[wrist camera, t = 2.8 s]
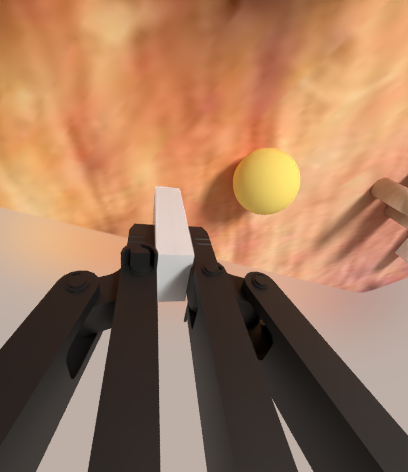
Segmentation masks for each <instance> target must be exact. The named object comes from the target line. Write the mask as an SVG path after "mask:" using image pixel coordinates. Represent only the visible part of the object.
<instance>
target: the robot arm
mask: <svg viewBox="0 0 408 472" xmlns="http://www.w3.org/2000/svg"><path fill="white" fill-rule="evenodd" d="M186 294H187V299H188V304H187V308H186V313H185V317H184V322H186V321H187V320H188V328H189V335H190V343H191V351H192V359H193V366H194V374H195V382H196V389H197V397H198V404H199V412H200V420H201V427H202V435H203V442H204V450H205V457H206V465H207V472H298V470H297V467H296V465H295V462H294V459H293V456H292V454H291V451H290V448H289V445H288V442H287V439H286V437H285V434H284V431H283V428H282V426H281V423H280V420H279V417H278V414H277V412H276V409H275V407H274V403H273V401H274V402H275V404H276V406H277V408H278V410H279V411H280V413H281V415H282V417H283V418H284V420H285V422H286V424H287V426H288V427H289V429H290V431H291V433H292V434H293V436H294V438H295V440H296V441H297V443H298V445H299V447H300V448H301V450H302V452H303V454H304V455H305V457H306V459H307V461H308V463H309V464H310V466H311V468H312V470H313V471H314V472H408V435H407V434H406V433H405V432H404V431H403V429H402V428H401V427H400V426H399V425H398V424H397V422H395V420H394V419H393V418H392V417H391V416H390V415H389V413H388V412H387V411H386V410H385V409H384V408H383V406H382V405H381V404H380V403H379V402H378V401H377V400H376V399H375V397H374V396H373V395H372V394H371V393H370V391H369V390H368V389H367V388H366V387H365V386H364V385H363V383H362V382H361V381H360V380H359V379H358V378H357V376H356V375H355V374H354V373H353V372H352V371H351V370H350V369H349V367H348V366H347V365H346V364H345V363H344V362H343V360H342V359H341V358H340V357H339V356H338V355H337V354H336V352H335V351H334V350H333V349H332V348H331V347H330V345H328V343H327V342H326V341H325V340H324V339H323V337H322V336H321V335H320V334H319V333H318V332H317V330H316V329H315V328H314V327H313V326H312V325H311V324H310V322H309V321H308V320H307V319H306V318H305V317H304V315H303V314H302V313H301V312H300V311H299V310H298V309H297V307H296V306H295V305H294V304H293V303H292V302H291V300H290V299H289V298H288V297H287V296H286V295H285V294H284V292H283V291H282V290H281V289H280V288H279V287H278V286H277V284H276V283H275V282H274V281H273V280H272V279H271V278H270V277H269V276H267V275H265V274H263V273H260V272H250V273H248V274H247V275H246V276H245V278H241V277H238V276H234V275H231V274H228V273H227V272H226V270H225V269H224V267H223V266H222V265H221V264H219V263H218V262H217V260H216V257H215V254H214V251H213V248H212V245H211V242H210V240H209V236H208V233H207V232H206V231H205V230H204V229H203V228H202V227H191V226H188V224H187V219H186V215H185V210H184V206H183V201H182V197H181V192H180V188H172V187H162V186H155V198H154V213H153V225H147V224H134V225H133V226H132V227H131V228H130V230H129V237H128V243H127V246H125V247H124V248H123V249H122V251H121V269H119V270H118V271H117V272H115V273H113V274H110V275H107V276H102V277H97V276H96V275H95V274H94V273H92V272H89V271H75V272H71V273H69V274H66V275H64V276H63V277H62V278H60V279H59V280H58V281H57V282H56V284H55V285H54V286H53V287H52V288H51V290H50V291H49V292H48V293H47V294H46V295H45V297H44V298H43V299H42V300H41V301H40V303H39V304H38V305H37V306H36V307H35V308H34V310H33V311H32V312H31V313H30V314H29V316H28V317H27V318H26V319H25V320H24V322H23V323H22V324H21V325H20V326H19V328H18V329H17V330H16V331H15V332H14V333H13V335H12V336H11V337H10V338H9V339H8V341H7V342H6V343H5V344H4V345H3V347H2V348H1V349H0V472H36V470H37V468H38V466H39V464H40V462H41V460H42V458H43V456H44V454H45V451H46V449H47V447H48V445H49V443H50V441H51V439H52V437H53V435H54V432H55V431H56V429H57V426H58V424H59V422H60V420H61V418H62V416H63V414H64V412H65V410H66V408H67V406H68V404H69V401H70V399H71V397H72V395H73V393H74V391H75V388H76V387H77V385H78V383H79V381H80V378H81V376H82V374H83V372H84V370H85V368H86V366H87V364H88V362H89V360H90V357H91V355H92V353H93V351H94V349H95V347H96V345H97V343H98V341H99V339H100V337H101V334H102V332H103V331H104V330H107V329H110V328H111V334H110V340H109V346H108V353H107V359H106V364H105V371H104V377H103V383H102V389H101V395H100V401H99V407H98V413H97V419H96V426H95V432H94V437H93V443H92V449H91V456H90V461H89V468H88V472H160V427H159V426H160V424H159V369H158V368H159V366H158V365H159V364H158V309H157V308H158V305H157V302H162V301H185V298H186ZM271 397H272V398H271ZM272 399H273V401H272Z"/></svg>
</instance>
